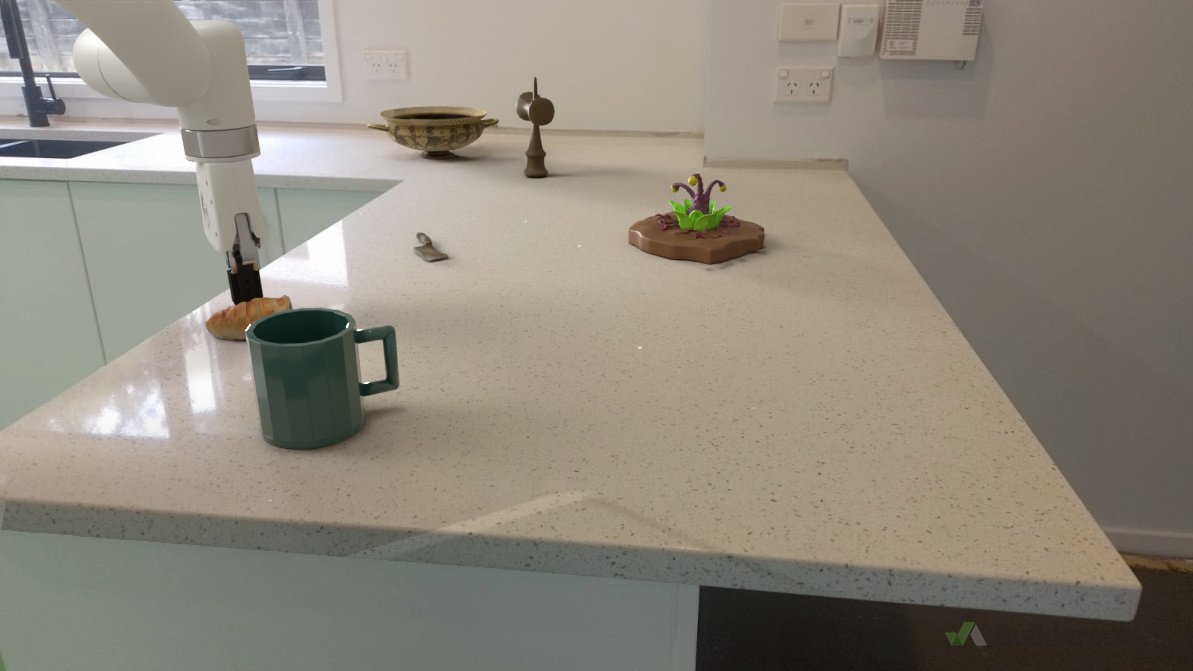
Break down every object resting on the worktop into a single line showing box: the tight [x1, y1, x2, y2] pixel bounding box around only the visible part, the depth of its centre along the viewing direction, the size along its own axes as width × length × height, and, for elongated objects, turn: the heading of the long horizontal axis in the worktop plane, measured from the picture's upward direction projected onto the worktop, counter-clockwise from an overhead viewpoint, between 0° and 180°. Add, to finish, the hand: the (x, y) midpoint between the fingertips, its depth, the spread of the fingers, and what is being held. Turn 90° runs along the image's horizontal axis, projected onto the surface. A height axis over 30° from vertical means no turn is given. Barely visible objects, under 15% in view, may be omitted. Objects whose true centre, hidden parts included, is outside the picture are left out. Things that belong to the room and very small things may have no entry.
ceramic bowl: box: [366, 105, 499, 159], centre depth 192 cm, size 30×24×10 cm
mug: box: [245, 307, 401, 450], centre depth 74 cm, size 12×9×10 cm
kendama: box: [515, 76, 556, 178], centre depth 172 cm, size 6×10×20 cm, turn 21°
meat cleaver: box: [412, 231, 449, 262], centre depth 125 cm, size 12×1×5 cm
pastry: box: [204, 294, 294, 341], centre depth 94 cm, size 9×7×4 cm
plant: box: [627, 173, 766, 265], centre depth 129 cm, size 20×20×11 cm
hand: (248, 301), depth 97 cm, fingers closed
